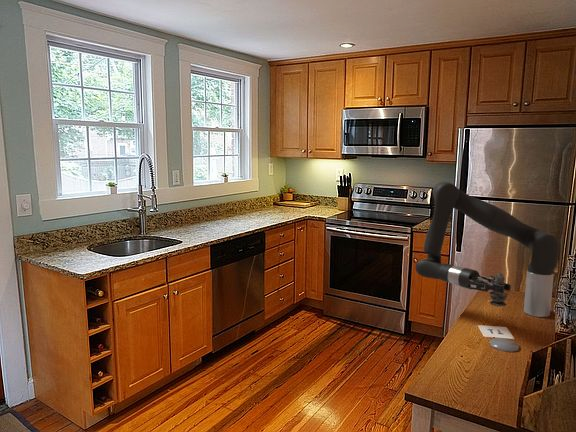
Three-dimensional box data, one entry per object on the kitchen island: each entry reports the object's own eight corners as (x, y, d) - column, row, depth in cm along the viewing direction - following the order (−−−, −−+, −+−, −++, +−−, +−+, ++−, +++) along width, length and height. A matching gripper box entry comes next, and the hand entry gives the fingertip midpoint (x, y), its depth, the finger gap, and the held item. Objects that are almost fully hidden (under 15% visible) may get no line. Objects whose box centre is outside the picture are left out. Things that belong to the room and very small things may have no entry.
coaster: (486, 338, 153) (486, 337, 153) (514, 340, 151) (514, 339, 151) (493, 350, 144) (493, 348, 144) (522, 352, 143) (522, 351, 142)
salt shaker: (509, 307, 153) (511, 274, 151) (491, 306, 154) (493, 273, 152) (504, 301, 159) (506, 269, 157) (487, 300, 160) (489, 269, 158)
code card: (477, 325, 164) (477, 325, 164) (506, 327, 162) (506, 327, 162) (484, 336, 155) (484, 336, 155) (514, 339, 153) (514, 338, 153)
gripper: (452, 271, 163) (496, 282, 149) (474, 264, 171) (518, 275, 157) (451, 290, 164) (495, 303, 150) (473, 282, 172) (516, 294, 158)
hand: (506, 288), depth 153 cm, fingers closed on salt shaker, 3 cm apart
